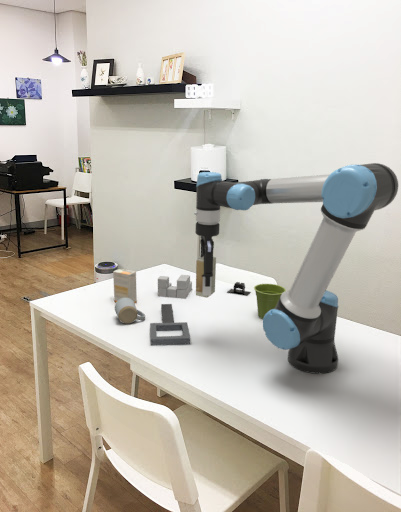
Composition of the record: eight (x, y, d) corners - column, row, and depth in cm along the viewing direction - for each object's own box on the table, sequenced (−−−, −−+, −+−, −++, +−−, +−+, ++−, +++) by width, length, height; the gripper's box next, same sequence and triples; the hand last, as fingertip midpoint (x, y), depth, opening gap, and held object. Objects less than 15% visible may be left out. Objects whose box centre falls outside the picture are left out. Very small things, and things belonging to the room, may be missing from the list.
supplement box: (137, 302, 196) (136, 271, 192) (129, 306, 192) (128, 274, 188) (121, 298, 200) (120, 267, 197) (113, 301, 196) (112, 270, 193)
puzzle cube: (191, 289, 213) (192, 272, 210) (185, 299, 201) (185, 281, 199) (165, 287, 215) (165, 270, 213) (157, 296, 203) (157, 278, 201)
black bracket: (255, 293, 211) (255, 283, 210) (250, 298, 205) (250, 288, 204) (228, 288, 216) (228, 279, 215) (222, 293, 210) (222, 283, 208)
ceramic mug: (118, 326, 174) (118, 306, 172) (114, 317, 181) (114, 298, 179) (147, 322, 177) (147, 303, 175) (142, 314, 184) (142, 295, 182)
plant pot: (269, 325, 177) (271, 296, 174) (245, 315, 185) (247, 287, 182) (290, 317, 184) (292, 289, 181) (266, 308, 193) (268, 281, 190)
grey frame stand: (190, 344, 161) (190, 338, 160) (150, 345, 159) (150, 339, 159) (183, 308, 190) (183, 303, 190) (149, 309, 189) (149, 304, 188)
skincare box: (203, 290, 164) (204, 254, 160) (215, 292, 162) (216, 256, 159) (194, 295, 158) (195, 259, 155) (206, 298, 156) (208, 261, 153)
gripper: (193, 215, 163) (191, 280, 169) (198, 229, 143) (196, 302, 150) (215, 215, 163) (212, 280, 170) (224, 229, 144) (221, 302, 150)
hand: (205, 290), depth 160 cm, fingers closed on skincare box, 7 cm apart
